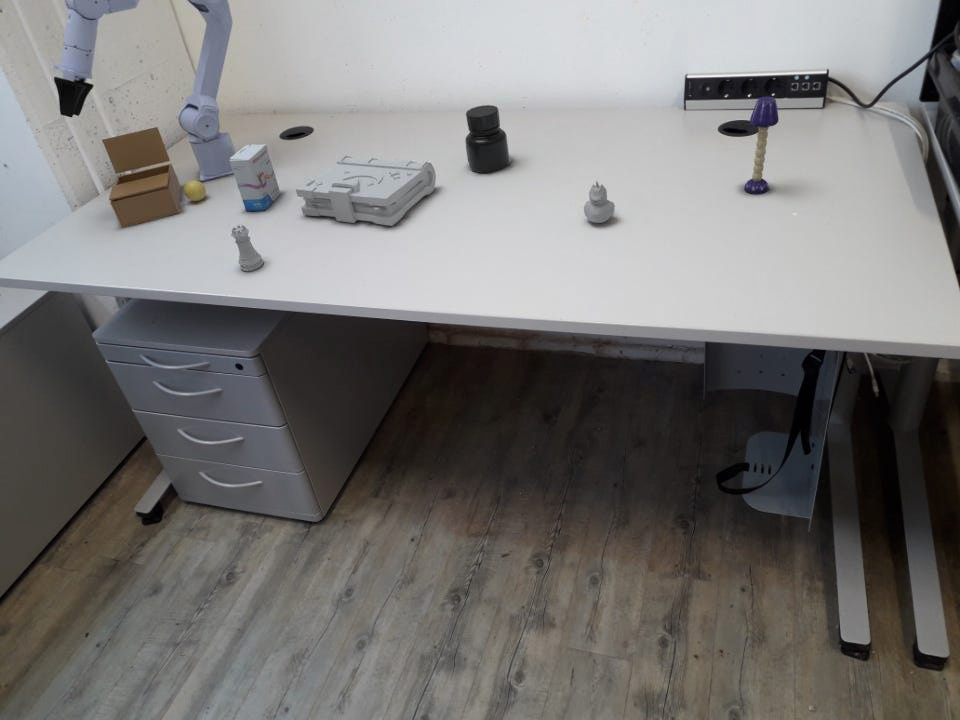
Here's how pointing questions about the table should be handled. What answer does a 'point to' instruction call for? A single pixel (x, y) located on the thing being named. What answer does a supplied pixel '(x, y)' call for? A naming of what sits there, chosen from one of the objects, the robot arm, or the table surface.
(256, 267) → the rook chess piece
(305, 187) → the book
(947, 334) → the table surface
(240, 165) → the ink box
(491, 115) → the ink bottle
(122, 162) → the flap
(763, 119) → the toy lamp
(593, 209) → the rubber duck
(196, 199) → the yellow ball
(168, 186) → the bin
